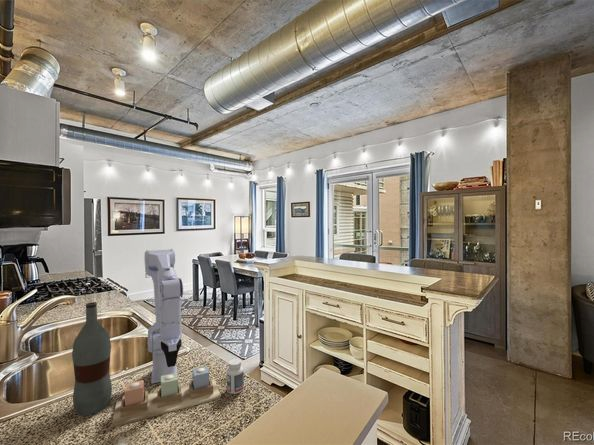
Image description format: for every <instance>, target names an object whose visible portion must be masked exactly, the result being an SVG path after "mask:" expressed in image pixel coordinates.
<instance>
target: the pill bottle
mask: <svg viewBox="0 0 594 445" xmlns="http://www.w3.org/2000/svg"><path fill="white" fill-rule="evenodd" d="M227 366H228V368H227V369H226V392H227V393H228V394H231V395H236V394H240V393H241V392H243V391H244V388H245V385H244V380H245V379H244V373H245V372H244V367H243V366H242V360H241V359H239V358H233V359H230V360H228V363H227Z"/></svg>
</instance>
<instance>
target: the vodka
mask: <svg viewBox="0 0 594 445" xmlns="http://www.w3.org/2000/svg"><path fill="white" fill-rule="evenodd" d="M97 304H98V302H96V301H93V302H91V301H90V302H87V303H85V324H84V325H83V327H82V328H81V329H80V331H79V332H78V334H77V336H76V337H75V338H74V341H73V345H72V352H71V358H72V364H73V371H74V372H73V373H74V387H73V392H72V393H73V394H72V405H73V409H74V412H75V414H76V415H77V416H83V417H84V416H85V417H86V416H91V415H94V414H97V413H99V412H102V411H103V410H104V409H107V407H109V405H110V403H111V399H112V390H113V388H112V380H111V375H110V362H111V351H112V344H111V337H110V334H109V332H108V331H107V330H106V329H105V327H104V326H103V325H102V324H101V323H100V321H98V308H97V306H98V305H97Z"/></svg>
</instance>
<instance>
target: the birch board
mask: <svg viewBox="0 0 594 445" xmlns="http://www.w3.org/2000/svg"><path fill="white" fill-rule="evenodd" d="M156 389H157V391H156V392H151V393H149V390H148V389H147V390H144V400H143V402H142V403H138V404H134V405H130V406H126V407H125V395H122V399H121V400H118V401H116V404H115V407H114V412H113V417H112V422H111V428H116V427H118V426H119V427H120V426H123V425H127V424H130V423H135V422H137V421H141V420H144V419H148V418H151V417H152V418H153V417H156V416H159V415H160V416H161V415H163V414H168V413H170V412H174V411H177V410H178V411H179V410H182V409H186V408H190V407H194V406H196V405H200V404H204V403H208V402H213V401H215V400H219V399H221V398H222V395H221V392H220V390H219V387H218V385H217V382H216V378H212V377H211V375H209V386H206V387H202V388H198V389H194V387H193V379H191V380H188V384H185V385H181V382H178V394H174V395H170V396H166V397H162V398H161V386H160V387H157V388H156Z"/></svg>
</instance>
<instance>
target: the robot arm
mask: <svg viewBox="0 0 594 445" xmlns="http://www.w3.org/2000/svg"><path fill="white" fill-rule="evenodd" d="M175 263H176V253H175V250H174V248H170V249H169V248H168V249H159V250H158V249H156V250H154V249H152V250H148V249H146V250H145V251H144V268H145V270H144V271H145V274H146V275H147V276H149V277H151V279H152V283H153V295H154V296H153V298H154V310H155V322H154V323H153V324H151V326H150V327H149V328H148V329H147V349H148V350H147V351H148V352H150V354H152V369H151V379H150V380H151V384H156V383H157V384H158V383H161V376H163V375H168V374H173V373H177V378H178V369H177V365H176V364H177V360H178V355H179V354H178V353H179V351H180V349H181V347H182V344H183V343H182V337H183V332H182V298H183V295H184V283H183V279H182V278H180V277H178V275H177V272H176V270H175Z"/></svg>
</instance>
